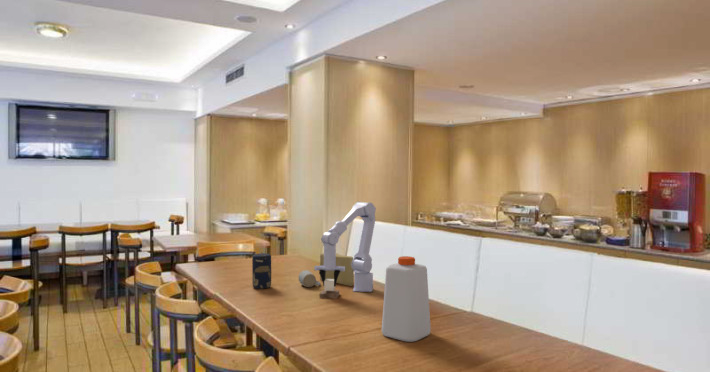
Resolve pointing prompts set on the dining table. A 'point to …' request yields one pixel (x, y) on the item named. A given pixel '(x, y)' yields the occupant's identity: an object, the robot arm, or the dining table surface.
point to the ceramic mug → (308, 279)
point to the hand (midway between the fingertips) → (329, 285)
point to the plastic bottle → (406, 301)
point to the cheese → (344, 276)
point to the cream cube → (329, 284)
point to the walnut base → (329, 294)
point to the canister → (261, 270)
